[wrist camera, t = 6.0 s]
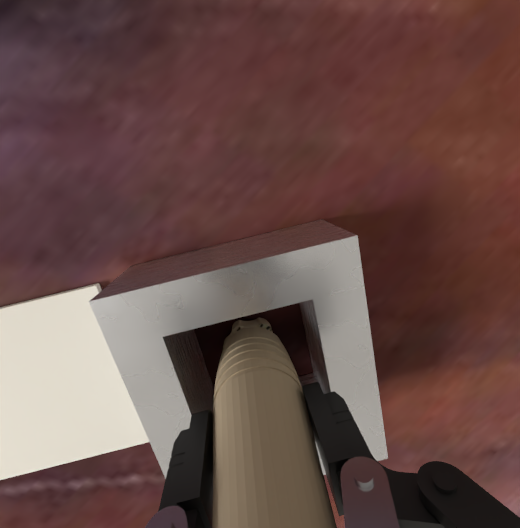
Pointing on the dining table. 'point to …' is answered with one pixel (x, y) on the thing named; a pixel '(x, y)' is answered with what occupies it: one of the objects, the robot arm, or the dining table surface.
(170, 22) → the dining table surface
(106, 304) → the collar
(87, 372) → the mat
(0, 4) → the dining table surface
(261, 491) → the handle
